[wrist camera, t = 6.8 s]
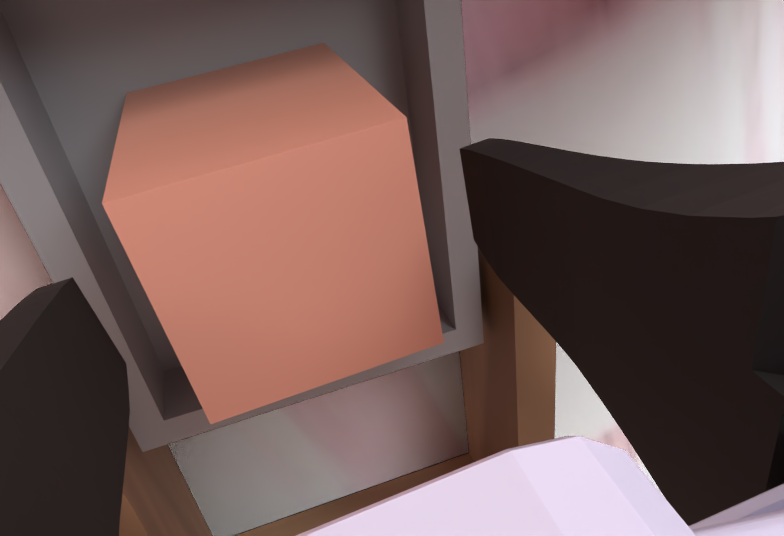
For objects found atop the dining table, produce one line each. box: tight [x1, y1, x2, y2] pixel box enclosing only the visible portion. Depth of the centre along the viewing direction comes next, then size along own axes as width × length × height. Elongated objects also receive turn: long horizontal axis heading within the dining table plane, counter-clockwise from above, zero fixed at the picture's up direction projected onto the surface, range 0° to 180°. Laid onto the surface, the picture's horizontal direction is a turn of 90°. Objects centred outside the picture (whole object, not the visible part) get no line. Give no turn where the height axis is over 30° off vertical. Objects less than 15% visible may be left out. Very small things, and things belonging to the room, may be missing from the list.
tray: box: [0, 0, 484, 452], centre depth 13 cm, size 13×14×5 cm
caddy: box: [119, 246, 556, 536], centre depth 19 cm, size 13×12×4 cm
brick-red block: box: [102, 43, 444, 424], centre depth 13 cm, size 4×4×6 cm
